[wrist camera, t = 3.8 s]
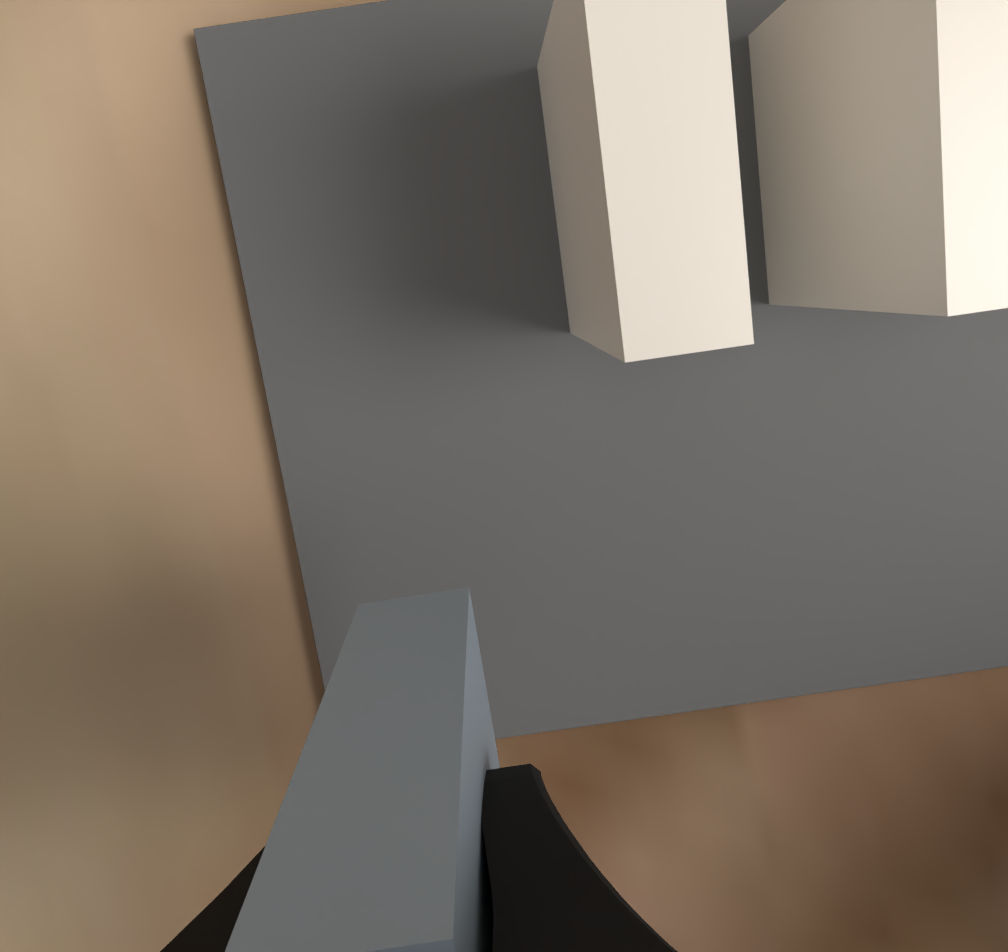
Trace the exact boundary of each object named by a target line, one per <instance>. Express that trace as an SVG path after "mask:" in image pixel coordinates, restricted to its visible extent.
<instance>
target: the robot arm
mask: <svg viewBox="0 0 1008 952" xmlns="http://www.w3.org/2000/svg"><path fill="white" fill-rule="evenodd" d="M481 821H482V828H483V835H484V842H485V849H486V855H487V862H488V869H489V876H490V883H491V890H492V902H493V943H492V952H677V951H676V950H675V949H674V948H673V947H671V946H670V945H669V944H668V943H667V942H666V941H665V940H664V939H663V938H662V937H661V936H660V935H659V934H658V933H657V932H655V931H654V930H653V929H652V928H651V927H650V926H649V925H648V924H647V923H646V922H645V921H644V920H643V919H642V918H641V917H640V916H639V915H638V914H637V913H636V912H635V911H634V910H633V909H632V908H631V906H630V905H629V904H628V903H627V902H626V901H625V900H624V899H623V898H622V897H621V895H620V894H619V893H618V892H617V891H616V890H615V888H614V887H613V886H612V885H611V884H610V883H609V881H608V880H607V879H606V878H605V877H604V876H603V874H602V873H601V872H600V871H599V869H598V868H597V867H596V866H595V864H594V863H593V862H592V861H591V859H590V858H589V857H588V855H587V854H586V852H585V851H584V850H583V848H582V847H581V845H580V844H579V843H578V841H577V840H576V838H575V837H574V836H573V834H572V833H571V831H570V830H569V828H568V827H567V825H566V824H565V822H564V821H563V819H562V818H561V816H560V814H559V812H558V811H557V809H556V807H555V806H554V804H553V802H552V800H551V798H550V796H549V794H548V792H547V790H546V788H545V786H544V783H543V780H542V777H541V772H540V771H539V770H538V769H537V768H535V767H534V766H533V765H531V764H526V765H518V766H511V767H504V768H497V769H490V770H486V775H485V780H484V789H483V799H482V813H481ZM264 849H265V847H264V848H263V849H262V850H261V851H260V852H259V853H258V854H257V855H256V856H255V857H254V858H253V859H252V861H251V862H250V863H249V864H248V865H247V866H246V867H245V868H244V869H243V870H242V871H241V872H240V873H239V874H238V875H237V877H236V878H235V879H234V880H233V881H232V882H231V883H230V884H229V885H228V886H227V887H226V888H225V889H224V890H223V891H222V892H221V893H220V894H219V895H218V896H217V897H216V898H215V899H214V900H213V901H212V902H211V903H210V904H209V905H208V906H207V907H206V908H205V909H204V910H203V911H202V912H201V913H200V914H199V915H198V916H197V917H196V918H195V919H194V920H192V921H191V922H190V923H189V924H188V925H187V926H186V927H185V928H184V929H183V930H182V931H181V932H180V933H179V934H178V935H177V936H176V937H175V938H174V939H173V940H172V941H171V942H170V943H169V944H168V945H167V946H166V947H165V948H164V949H162V950H161V951H160V952H225V950H226V947H227V945H228V942H229V939H230V937H231V934H232V932H233V929H234V926H235V924H236V921H237V919H238V916H239V914H240V911H241V908H242V906H243V903H244V901H245V898H246V895H247V893H248V890H249V888H250V885H251V882H252V880H253V877H254V875H255V872H256V869H257V867H258V864H259V862H260V859H261V856H262V854H263V851H264Z"/></svg>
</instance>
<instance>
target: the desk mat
mask: <svg viewBox="0 0 1008 952" xmlns="http://www.w3.org/2000/svg"><path fill="white" fill-rule="evenodd" d="M553 1H554V0H387V1H380V2H374V3H367V4H360V5H353V6H346V7H340V8H333V9H326V10H319V11H312V12H306V13H299V14H292V15H285V16H278V17H272V18H265V19H258V20H251V21H244V22H238V23H231V24H224V25H217V26H210V27H204V28H197V29H194V34H195V39H196V44H197V49H198V54H199V59H200V64H201V69H202V74H203V79H204V84H205V89H206V94H207V99H208V105H209V110H210V115H211V120H212V125H213V130H214V135H215V140H216V145H217V150H218V155H219V160H220V165H221V170H222V175H223V180H224V185H225V190H226V195H227V200H228V205H229V210H230V215H231V220H232V225H233V230H234V235H235V241H236V246H237V251H238V256H239V261H240V266H241V271H242V276H243V281H244V286H245V291H246V296H247V301H248V306H249V311H250V316H251V321H252V326H253V331H254V336H255V341H256V346H257V351H258V356H259V361H260V366H261V372H262V377H263V382H264V387H265V392H266V397H267V402H268V407H269V412H270V417H271V422H272V427H273V432H274V437H275V442H276V447H277V452H278V457H279V462H280V467H281V472H282V477H283V482H284V487H285V492H286V497H287V502H288V508H289V513H290V518H291V523H292V528H293V533H294V538H295V543H296V548H297V553H298V558H299V563H300V568H301V573H302V578H303V583H304V588H305V593H306V598H307V603H308V608H309V613H310V618H311V623H312V628H313V633H314V639H315V644H316V649H317V654H318V659H319V664H320V669H321V674H322V679H323V684H324V689H325V690H326V688H327V685H328V683H329V680H330V677H331V675H332V672H333V670H334V667H335V664H336V662H337V659H338V657H339V654H340V652H341V649H342V646H343V644H344V641H345V639H346V636H347V633H348V631H349V628H350V626H351V623H352V620H353V618H354V615H355V613H356V610H357V607H358V605H359V604H364V603H371V602H377V601H384V600H390V599H397V598H403V597H410V596H416V595H423V594H429V593H436V592H442V591H449V590H455V589H462V588H468V587H469V589H470V595H471V601H472V607H473V613H474V619H475V624H476V630H477V636H478V642H479V648H480V654H481V660H482V666H483V671H484V677H485V683H486V689H487V695H488V701H489V707H490V713H491V718H492V724H493V730H494V736H495V739H498V738H505V737H513V736H520V735H527V734H534V733H541V732H548V731H555V730H562V729H569V728H576V727H583V726H590V725H597V724H604V723H611V722H618V721H625V720H632V719H639V718H646V717H654V716H661V715H668V714H675V713H682V712H689V711H696V710H703V709H710V708H717V707H724V706H731V705H738V704H745V703H752V702H759V701H766V700H773V699H780V698H787V697H795V696H802V695H809V694H816V693H823V692H830V691H837V690H844V689H851V688H858V687H865V686H872V685H879V684H886V683H893V682H900V681H907V680H914V679H921V678H928V677H936V676H943V675H950V674H957V673H964V672H971V671H978V670H985V669H992V668H999V667H1006V666H1008V308H1003V309H996V310H989V311H982V312H976V313H969V314H962V315H955V316H948V317H947V316H933V315H918V314H903V313H888V312H873V311H858V310H843V309H828V308H814V307H799V306H784V305H769V296H768V283H767V270H766V257H765V244H764V231H763V218H762V206H761V193H760V180H759V167H758V154H757V141H756V128H755V116H754V103H753V90H752V77H751V64H750V51H749V39H748V35H750V34H751V33H752V32H753V31H754V30H755V29H756V28H757V27H758V26H759V25H760V24H761V23H762V22H763V21H764V20H766V19H767V18H768V17H769V16H770V15H771V14H772V13H773V12H774V11H775V10H776V9H777V8H778V7H779V6H780V5H782V4H783V3H784V2H785V1H786V0H726V9H727V21H728V33H729V45H730V57H731V70H732V82H733V94H734V106H735V118H736V131H737V143H738V155H739V167H740V179H741V191H742V204H743V216H744V228H745V240H746V252H747V265H748V277H749V289H750V301H751V313H752V326H753V338H754V344H751V345H744V346H737V347H730V348H723V349H716V350H709V351H702V352H695V353H688V354H681V355H674V356H668V357H661V358H654V359H647V360H640V361H633V362H626V363H625V362H623V361H621V360H619V359H617V358H616V357H614V356H612V355H610V354H608V353H606V352H604V351H603V350H601V349H599V348H597V347H595V346H593V345H592V344H590V343H588V342H586V341H584V340H582V339H580V338H579V337H577V336H575V335H573V334H571V333H570V326H569V318H568V310H567V302H566V294H565V286H564V278H563V270H562V262H561V254H560V246H559V238H558V230H557V222H556V214H555V206H554V198H553V190H552V182H551V174H550V166H549V158H548V150H547V142H546V134H545V126H544V118H543V110H542V102H541V94H540V86H539V78H538V70H537V65H538V61H539V57H540V53H541V49H542V45H543V41H544V37H545V33H546V29H547V25H548V21H549V17H550V13H551V9H552V5H553Z"/></svg>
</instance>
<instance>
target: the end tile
mask: <svg viewBox="0 0 1008 952" xmlns="http://www.w3.org/2000/svg"><path fill="white" fill-rule="evenodd" d="M497 768H500V765H499V760H498V754H497V748H496V742H495V736H494V730H493V724H492V718H491V713H490V707H489V701H488V695H487V689H486V683H485V677H484V671H483V666H482V660H481V654H480V648H479V642H478V636H477V630H476V624H475V619H474V613H473V607H472V601H471V595H470V589H469V587H468V588H462V589H455V590H449V591H442V592H436V593H429V594H423V595H416V596H410V597H403V598H397V599H390V600H384V601H377V602H371V603H364V604H359V605H358V607H357V610H356V613H355V615H354V618H353V620H352V623H351V626H350V628H349V631H348V633H347V636H346V639H345V641H344V644H343V646H342V649H341V652H340V654H339V657H338V659H337V662H336V664H335V667H334V670H333V672H332V675H331V677H330V680H329V683H328V685H327V688H326V690H325V693H324V696H323V698H322V701H321V703H320V706H319V709H318V711H317V714H316V716H315V719H314V722H313V724H312V727H311V729H310V732H309V735H308V737H307V740H306V742H305V745H304V747H303V750H302V753H301V755H300V758H299V760H298V763H297V766H296V768H295V771H294V773H293V776H292V779H291V781H290V784H289V786H288V789H287V792H286V794H285V797H284V799H283V802H282V805H281V807H280V810H279V812H278V815H277V818H276V820H275V823H274V825H273V828H272V830H271V833H270V836H269V838H268V841H267V843H266V846H265V849H264V851H263V854H262V856H261V859H260V862H259V864H258V867H257V869H256V872H255V875H254V877H253V880H252V882H251V885H250V888H249V890H248V893H247V895H246V898H245V901H244V903H243V906H242V908H241V911H240V914H239V916H238V919H237V921H236V924H235V926H234V929H233V932H232V934H231V937H230V939H229V942H228V945H227V947H226V950H225V952H492V943H493V902H492V890H491V883H490V876H489V869H488V862H487V855H486V849H485V842H484V835H483V828H482V821H481V813H482V799H483V789H484V780H485V775H486V770H490V769H497Z"/></svg>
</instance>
